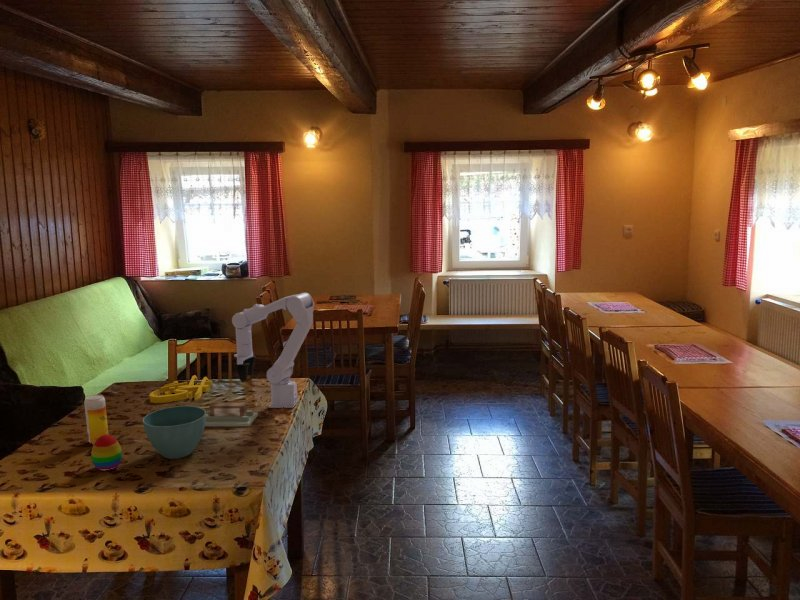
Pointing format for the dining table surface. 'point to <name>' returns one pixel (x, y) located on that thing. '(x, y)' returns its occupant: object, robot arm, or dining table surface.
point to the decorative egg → (106, 452)
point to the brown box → (228, 409)
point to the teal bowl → (175, 430)
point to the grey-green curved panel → (231, 420)
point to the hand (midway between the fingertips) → (246, 377)
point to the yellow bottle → (95, 417)
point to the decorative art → (180, 391)
